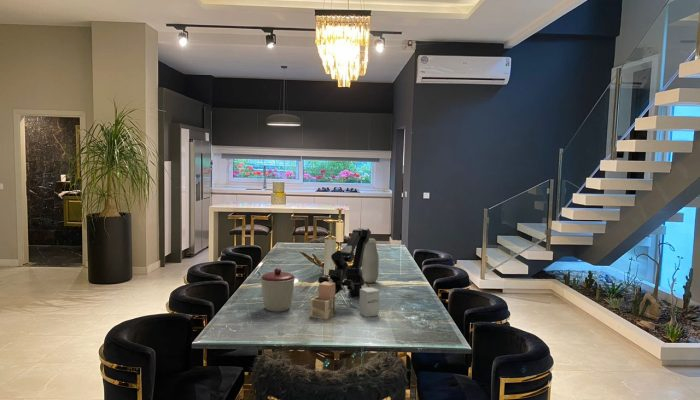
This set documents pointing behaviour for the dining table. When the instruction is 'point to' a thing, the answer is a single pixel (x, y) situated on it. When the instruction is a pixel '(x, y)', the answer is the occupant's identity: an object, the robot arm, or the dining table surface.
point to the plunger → (327, 291)
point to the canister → (277, 290)
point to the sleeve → (321, 308)
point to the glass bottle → (370, 262)
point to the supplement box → (369, 302)
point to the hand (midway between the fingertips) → (330, 297)
